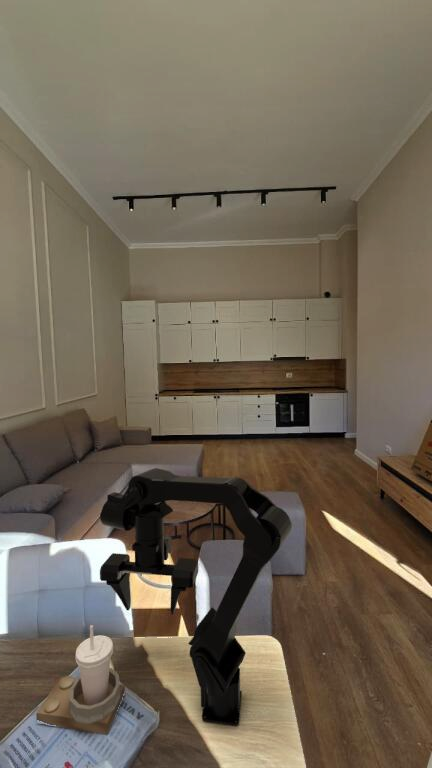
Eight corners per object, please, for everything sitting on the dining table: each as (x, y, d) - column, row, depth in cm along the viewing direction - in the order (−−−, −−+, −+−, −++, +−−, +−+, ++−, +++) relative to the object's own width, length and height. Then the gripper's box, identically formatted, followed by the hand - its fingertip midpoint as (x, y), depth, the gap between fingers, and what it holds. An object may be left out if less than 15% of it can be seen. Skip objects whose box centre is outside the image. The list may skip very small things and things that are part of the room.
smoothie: (68, 707, 63) (66, 630, 62) (96, 679, 69) (94, 608, 68) (95, 723, 60) (93, 642, 59) (121, 692, 66) (120, 618, 65)
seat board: (127, 692, 68) (126, 669, 68) (107, 737, 60) (106, 711, 59) (62, 684, 70) (62, 662, 70) (34, 726, 62) (34, 701, 61)
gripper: (202, 519, 78) (203, 590, 78) (121, 515, 80) (122, 583, 81) (191, 544, 67) (193, 626, 67) (97, 538, 69) (99, 617, 70)
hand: (150, 611), depth 72 cm, fingers open, 9 cm apart
